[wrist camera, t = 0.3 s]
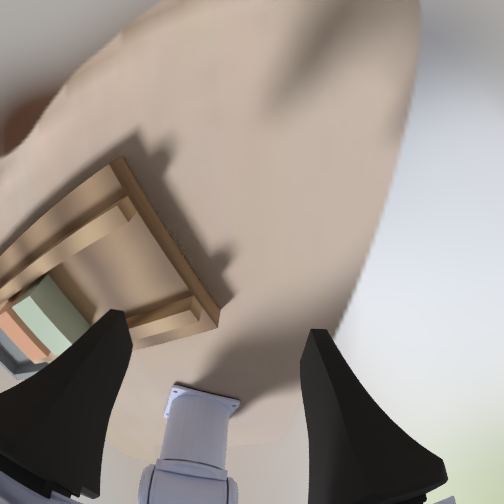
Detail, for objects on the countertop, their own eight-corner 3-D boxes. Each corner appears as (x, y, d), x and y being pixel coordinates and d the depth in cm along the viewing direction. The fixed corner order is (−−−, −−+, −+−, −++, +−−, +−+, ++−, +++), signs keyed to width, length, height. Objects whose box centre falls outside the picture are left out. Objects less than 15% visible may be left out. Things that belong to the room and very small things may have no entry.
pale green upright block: (48, 273, 20) (29, 295, 17) (90, 325, 22) (77, 349, 20) (28, 286, 21) (11, 307, 18) (67, 333, 23) (54, 355, 21)
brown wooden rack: (122, 156, 17) (96, 171, 14) (220, 310, 23) (215, 342, 20) (-13, 270, 23) (-30, 288, 20) (58, 355, 29) (48, 376, 26)
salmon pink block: (22, 291, 21) (6, 311, 18) (60, 335, 24) (47, 357, 21) (8, 300, 22) (-7, 319, 19) (42, 341, 25) (31, 360, 22)
